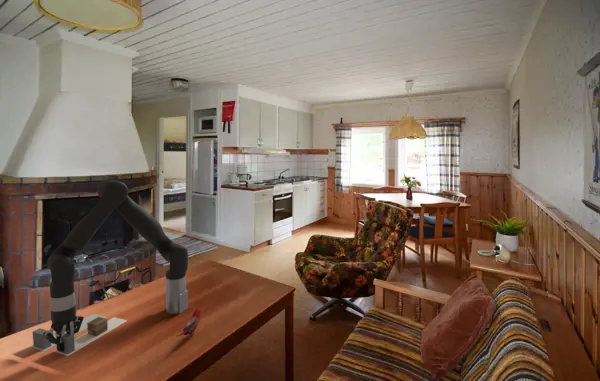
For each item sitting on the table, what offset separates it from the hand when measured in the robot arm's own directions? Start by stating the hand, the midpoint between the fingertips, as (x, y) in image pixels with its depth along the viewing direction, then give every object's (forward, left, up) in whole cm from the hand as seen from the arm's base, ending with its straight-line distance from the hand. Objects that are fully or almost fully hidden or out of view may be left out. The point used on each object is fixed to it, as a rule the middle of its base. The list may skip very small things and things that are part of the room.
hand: (65, 348), depth 115 cm
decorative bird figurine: (-37, -25, -2) cm, 45 cm away
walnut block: (0, -13, -1) cm, 13 cm away
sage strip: (+11, -10, -2) cm, 15 cm away
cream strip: (0, -11, -2) cm, 11 cm away
